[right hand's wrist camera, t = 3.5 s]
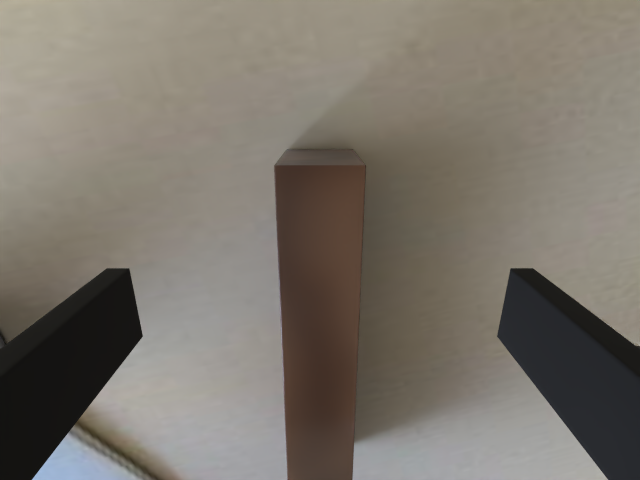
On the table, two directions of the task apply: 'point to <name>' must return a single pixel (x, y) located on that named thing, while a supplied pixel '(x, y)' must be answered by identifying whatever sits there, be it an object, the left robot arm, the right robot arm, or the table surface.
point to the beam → (320, 305)
